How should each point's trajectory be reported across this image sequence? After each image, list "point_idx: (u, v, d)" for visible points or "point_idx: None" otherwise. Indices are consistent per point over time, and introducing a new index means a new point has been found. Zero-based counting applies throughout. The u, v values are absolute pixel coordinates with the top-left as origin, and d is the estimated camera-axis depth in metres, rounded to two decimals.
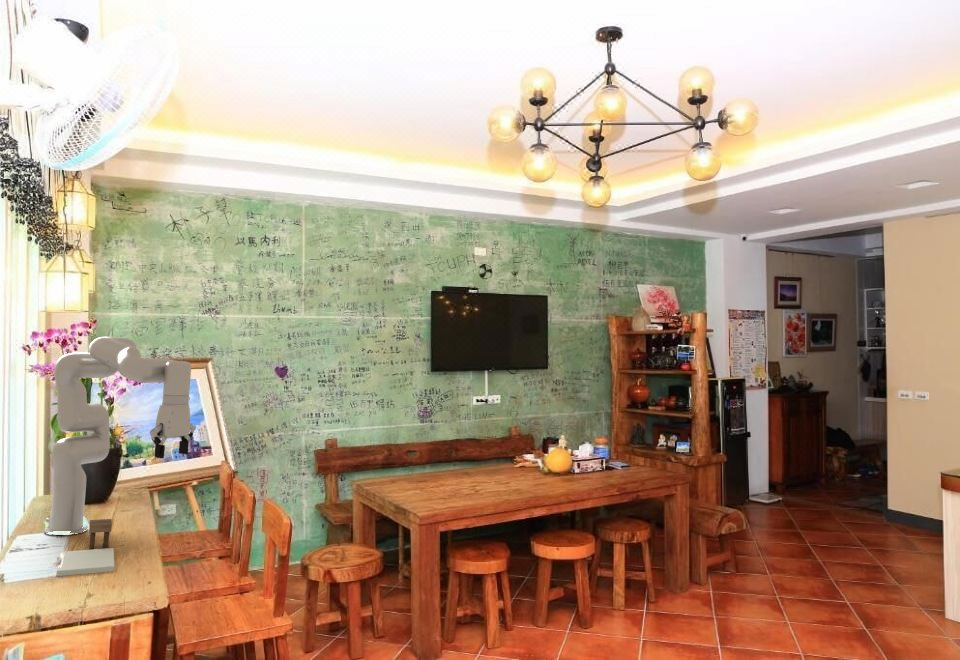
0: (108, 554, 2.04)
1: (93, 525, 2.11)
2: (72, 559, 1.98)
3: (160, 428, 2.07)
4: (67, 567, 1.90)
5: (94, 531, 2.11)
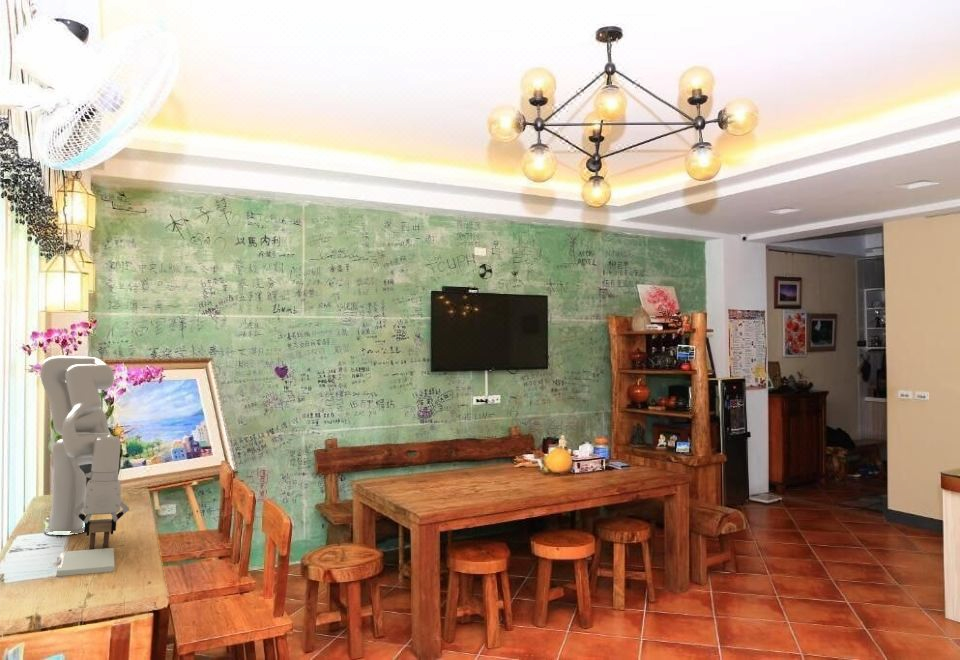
0: (108, 554, 2.04)
1: (93, 525, 2.11)
2: (72, 559, 1.98)
3: None
4: (67, 567, 1.90)
5: (94, 531, 2.11)
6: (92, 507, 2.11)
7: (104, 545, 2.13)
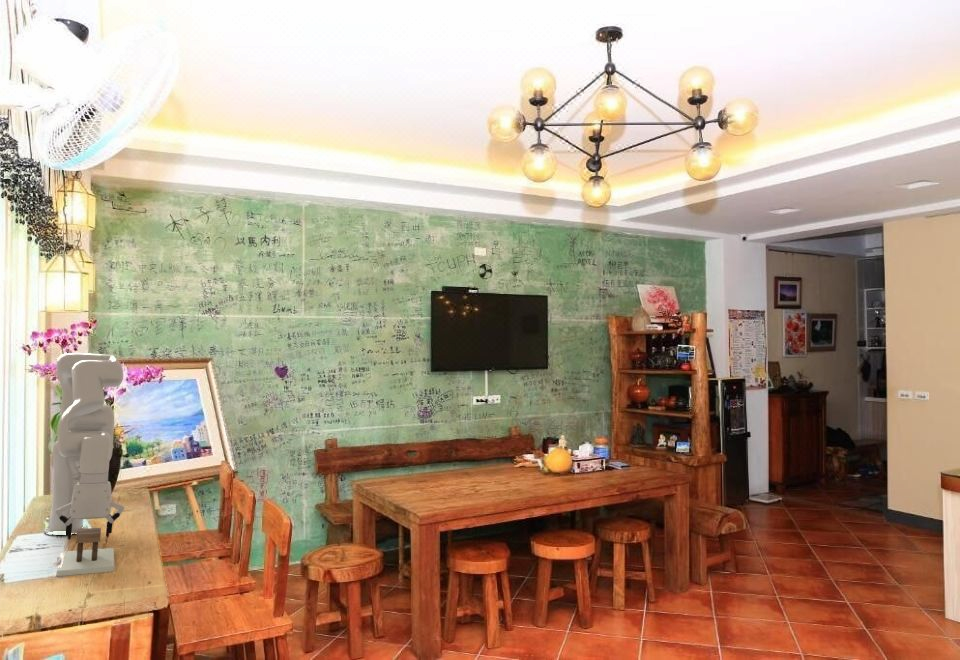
0: (108, 554, 2.04)
1: (81, 535, 1.96)
2: (72, 559, 1.98)
3: None
4: (67, 567, 1.90)
5: (82, 541, 1.96)
6: (80, 511, 1.96)
7: (92, 556, 1.98)
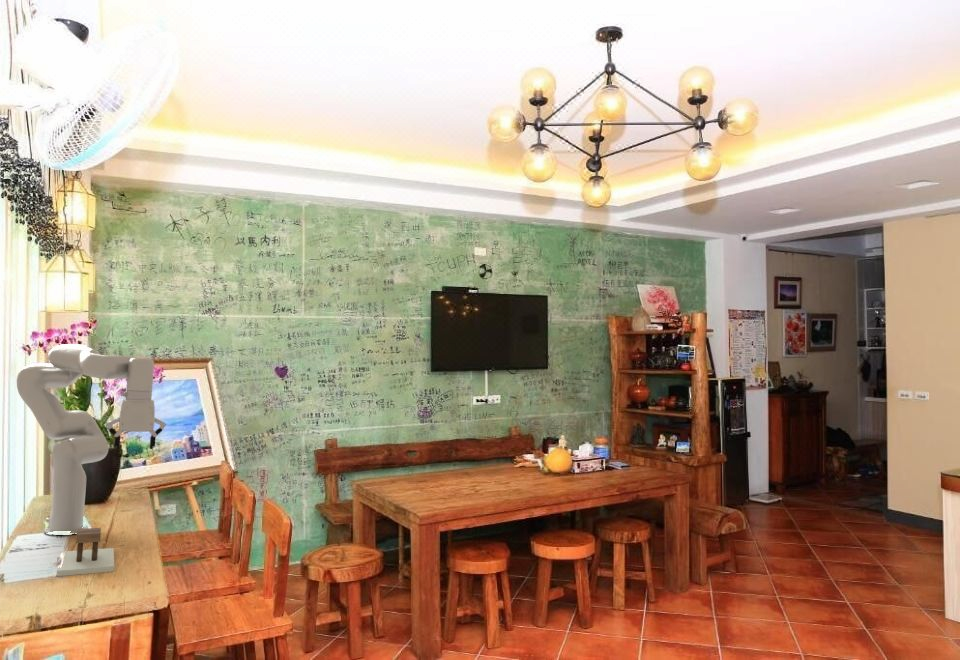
0: (108, 554, 2.04)
1: (81, 535, 1.96)
2: (72, 559, 1.98)
3: None
4: (67, 567, 1.90)
5: (82, 541, 1.96)
6: (127, 424, 2.18)
7: (92, 556, 1.98)
